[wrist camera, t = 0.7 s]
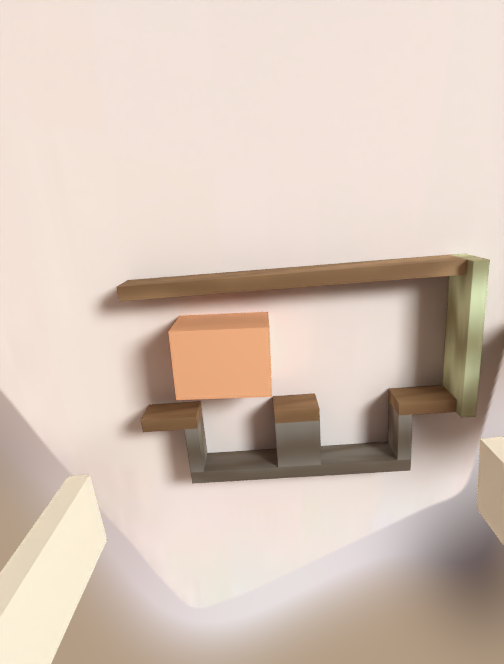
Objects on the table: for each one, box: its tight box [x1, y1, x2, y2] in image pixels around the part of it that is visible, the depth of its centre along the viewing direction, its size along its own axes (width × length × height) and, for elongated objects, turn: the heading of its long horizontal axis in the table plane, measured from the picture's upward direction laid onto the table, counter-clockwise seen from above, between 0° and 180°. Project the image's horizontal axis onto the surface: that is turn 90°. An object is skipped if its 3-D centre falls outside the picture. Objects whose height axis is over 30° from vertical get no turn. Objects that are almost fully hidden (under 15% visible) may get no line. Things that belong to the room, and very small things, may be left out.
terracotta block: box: [168, 312, 272, 400], centre depth 36 cm, size 6×8×5 cm
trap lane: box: [117, 254, 490, 483], centre depth 37 cm, size 19×29×4 cm, turn 95°
